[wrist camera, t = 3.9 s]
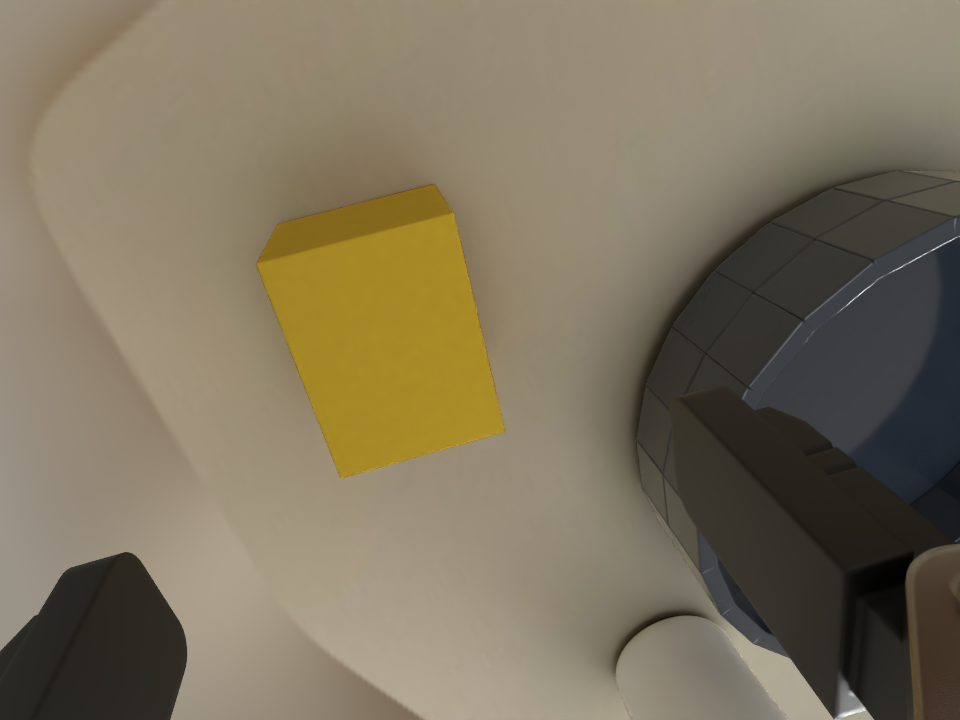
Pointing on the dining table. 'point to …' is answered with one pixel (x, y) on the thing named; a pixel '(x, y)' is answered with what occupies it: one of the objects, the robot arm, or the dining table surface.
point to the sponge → (383, 328)
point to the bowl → (827, 352)
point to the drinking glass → (690, 675)
